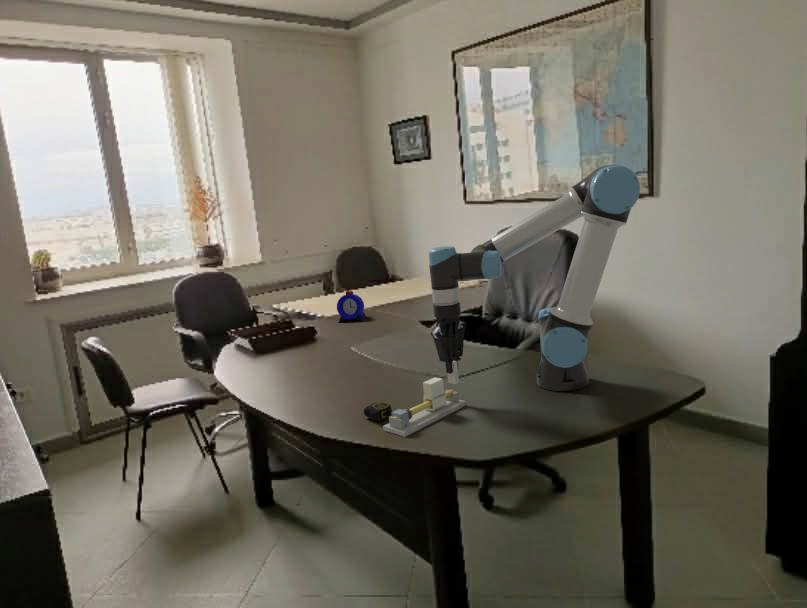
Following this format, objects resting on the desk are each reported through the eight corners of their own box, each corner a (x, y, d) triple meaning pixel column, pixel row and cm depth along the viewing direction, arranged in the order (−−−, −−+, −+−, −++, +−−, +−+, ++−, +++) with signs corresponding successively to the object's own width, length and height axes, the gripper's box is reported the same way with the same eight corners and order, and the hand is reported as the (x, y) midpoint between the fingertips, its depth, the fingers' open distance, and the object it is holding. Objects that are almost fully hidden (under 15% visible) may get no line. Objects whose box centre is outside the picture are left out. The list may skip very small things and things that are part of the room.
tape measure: (363, 418, 172) (361, 406, 171) (383, 411, 176) (382, 399, 175) (376, 425, 166) (374, 412, 166) (396, 417, 170) (395, 405, 169)
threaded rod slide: (445, 400, 179) (443, 383, 178) (466, 405, 173) (464, 388, 172) (383, 430, 162) (381, 412, 161) (404, 436, 156) (402, 418, 155)
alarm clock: (337, 323, 296) (333, 293, 293) (344, 317, 307) (340, 288, 305) (362, 321, 293) (358, 291, 290) (367, 316, 305) (364, 286, 302)
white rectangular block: (436, 403, 173) (433, 377, 172) (446, 405, 170) (444, 379, 169) (424, 409, 170) (421, 382, 168) (434, 411, 167) (431, 384, 165)
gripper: (451, 297, 177) (458, 374, 182) (420, 306, 169) (428, 387, 173) (471, 298, 172) (478, 378, 177) (441, 308, 163) (448, 392, 168)
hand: (453, 382), depth 175 cm, fingers closed
